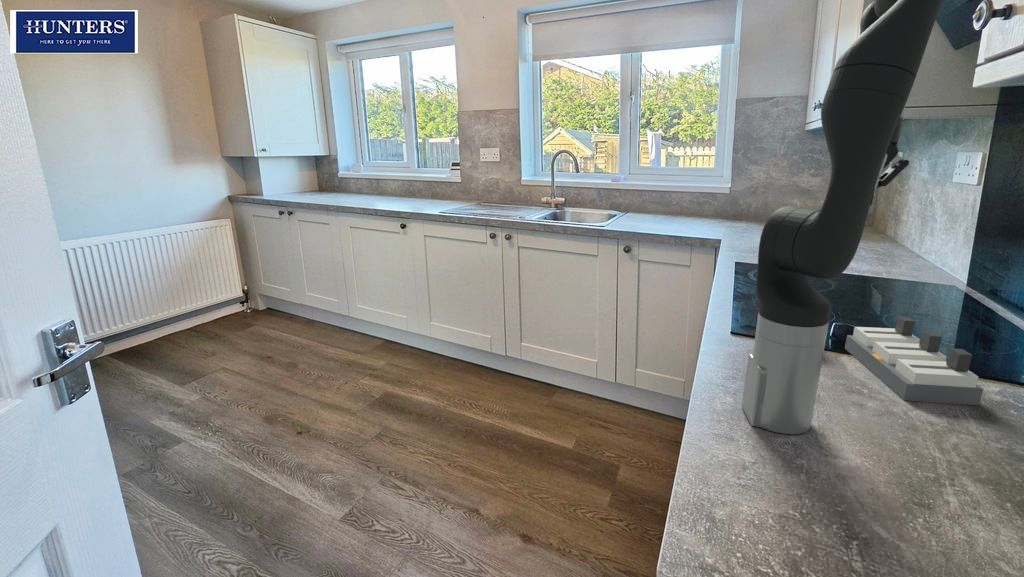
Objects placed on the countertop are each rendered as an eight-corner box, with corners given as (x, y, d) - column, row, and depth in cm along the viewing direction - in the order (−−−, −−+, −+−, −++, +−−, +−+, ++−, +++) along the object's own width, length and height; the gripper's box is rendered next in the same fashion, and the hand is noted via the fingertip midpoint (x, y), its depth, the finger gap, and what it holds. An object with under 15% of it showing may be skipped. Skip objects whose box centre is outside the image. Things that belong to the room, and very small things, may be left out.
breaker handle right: (955, 370, 82) (959, 354, 81) (945, 364, 84) (950, 348, 83) (967, 371, 81) (972, 354, 81) (958, 365, 84) (962, 349, 83)
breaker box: (903, 400, 83) (909, 372, 82) (844, 348, 104) (848, 325, 102) (978, 405, 81) (986, 377, 79) (903, 351, 102) (908, 328, 100)
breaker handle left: (901, 335, 97) (904, 320, 96) (894, 330, 99) (897, 316, 98) (911, 335, 97) (915, 321, 96) (904, 331, 99) (908, 317, 98)
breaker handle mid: (926, 351, 89) (930, 336, 88) (918, 346, 92) (922, 331, 91) (938, 352, 89) (941, 336, 88) (929, 346, 91) (933, 331, 90)
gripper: (848, 116, 91) (832, 210, 96) (930, 114, 88) (909, 211, 93) (831, 118, 98) (817, 206, 103) (906, 116, 95) (888, 206, 100)
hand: (861, 208), depth 98 cm, fingers closed
